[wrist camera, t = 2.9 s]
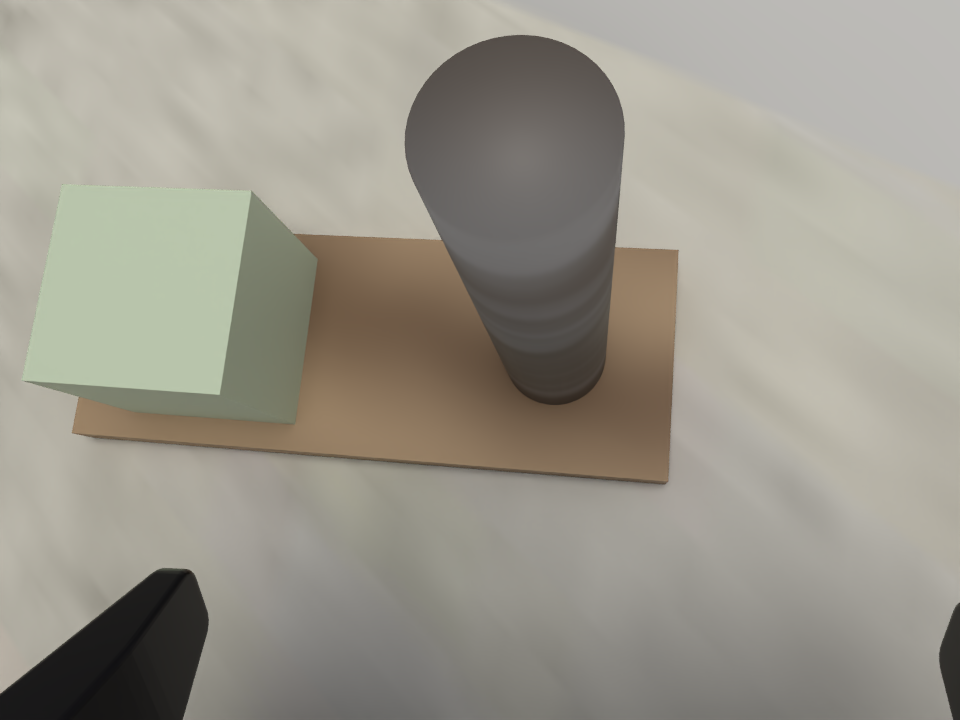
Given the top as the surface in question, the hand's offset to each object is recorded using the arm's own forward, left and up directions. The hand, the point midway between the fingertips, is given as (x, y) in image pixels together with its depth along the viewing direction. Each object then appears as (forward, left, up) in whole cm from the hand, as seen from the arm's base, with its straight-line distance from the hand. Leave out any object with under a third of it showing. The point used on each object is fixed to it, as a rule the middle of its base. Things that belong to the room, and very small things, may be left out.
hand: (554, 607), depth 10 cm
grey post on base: (+5, +6, -12) cm, 14 cm away
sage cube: (+5, +10, -11) cm, 15 cm away
